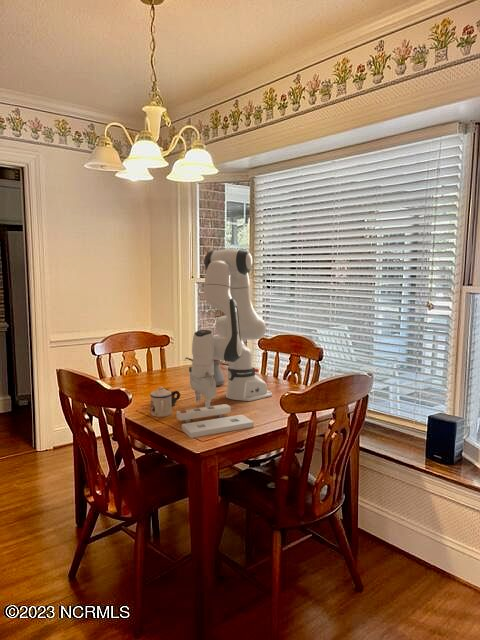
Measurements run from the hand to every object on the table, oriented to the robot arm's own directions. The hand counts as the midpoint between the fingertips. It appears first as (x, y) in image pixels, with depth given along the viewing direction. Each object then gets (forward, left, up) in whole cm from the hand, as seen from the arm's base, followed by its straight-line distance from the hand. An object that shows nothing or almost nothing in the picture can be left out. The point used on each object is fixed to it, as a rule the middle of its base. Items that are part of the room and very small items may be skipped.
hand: (202, 404), depth 184 cm
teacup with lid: (+13, -13, -7) cm, 20 cm away
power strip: (-1, 0, -7) cm, 6 cm away
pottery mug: (+7, -26, -7) cm, 28 cm away
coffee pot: (-22, -51, -7) cm, 56 cm away
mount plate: (-2, +12, -7) cm, 13 cm away
